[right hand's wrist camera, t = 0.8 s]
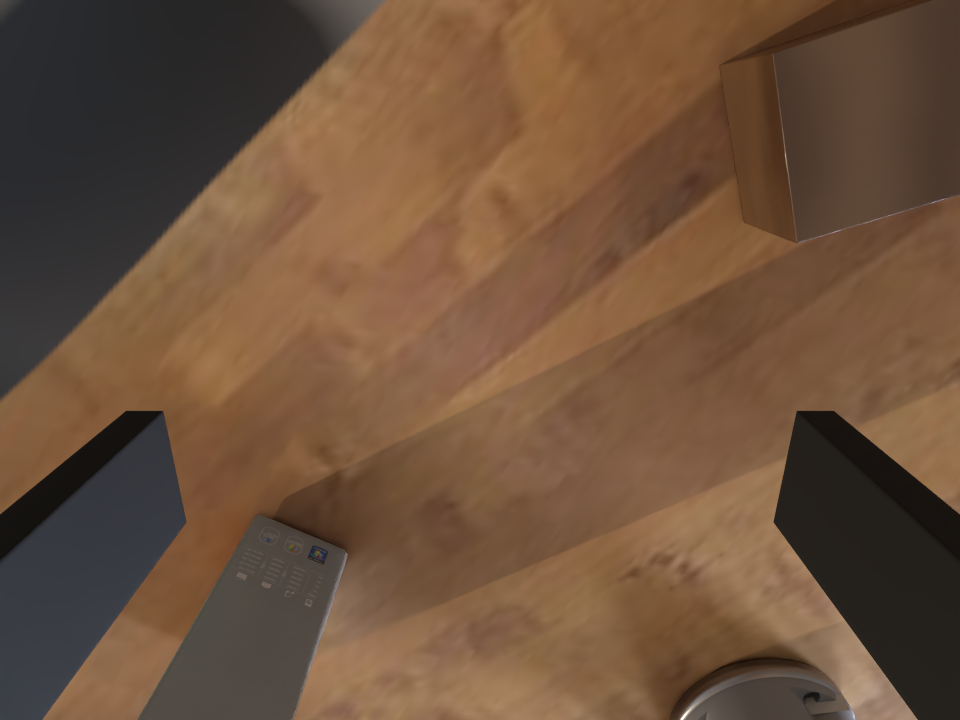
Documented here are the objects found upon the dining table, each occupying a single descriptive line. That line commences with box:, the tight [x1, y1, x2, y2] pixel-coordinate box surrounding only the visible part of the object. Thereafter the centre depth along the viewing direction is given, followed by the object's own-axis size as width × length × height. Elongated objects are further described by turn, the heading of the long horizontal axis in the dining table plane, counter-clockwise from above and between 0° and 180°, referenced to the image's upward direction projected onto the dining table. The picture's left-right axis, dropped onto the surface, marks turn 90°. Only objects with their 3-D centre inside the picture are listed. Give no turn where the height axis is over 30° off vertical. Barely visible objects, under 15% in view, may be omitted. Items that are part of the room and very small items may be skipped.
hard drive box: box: [137, 514, 348, 720], centre depth 39 cm, size 16×8×20 cm, turn 152°
